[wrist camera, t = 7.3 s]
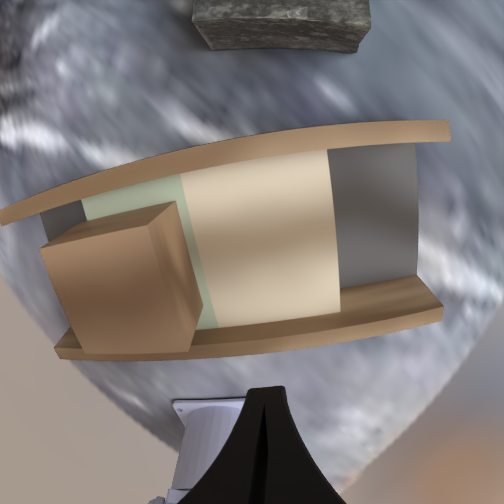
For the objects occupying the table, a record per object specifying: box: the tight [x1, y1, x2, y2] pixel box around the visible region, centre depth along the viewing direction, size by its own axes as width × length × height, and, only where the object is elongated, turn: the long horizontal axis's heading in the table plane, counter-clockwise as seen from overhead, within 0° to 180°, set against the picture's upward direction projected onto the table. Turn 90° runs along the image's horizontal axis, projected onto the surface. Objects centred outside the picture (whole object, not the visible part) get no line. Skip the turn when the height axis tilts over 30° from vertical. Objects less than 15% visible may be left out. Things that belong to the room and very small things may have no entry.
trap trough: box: [0, 120, 451, 361], centre depth 16 cm, size 11×25×4 cm, turn 100°
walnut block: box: [39, 201, 204, 354], centre depth 14 cm, size 6×6×4 cm
